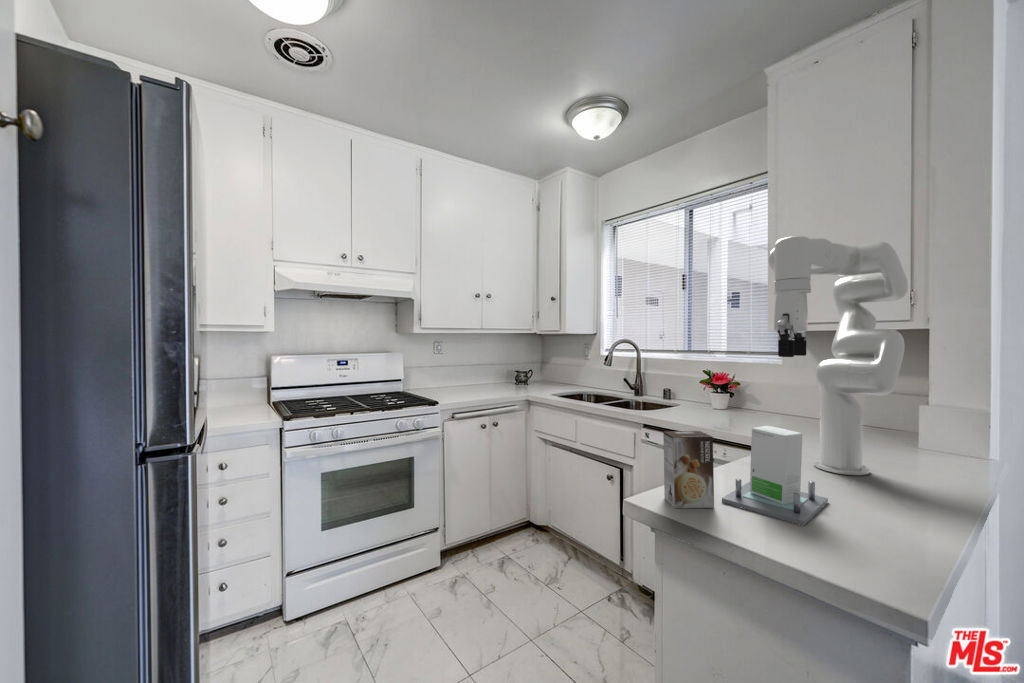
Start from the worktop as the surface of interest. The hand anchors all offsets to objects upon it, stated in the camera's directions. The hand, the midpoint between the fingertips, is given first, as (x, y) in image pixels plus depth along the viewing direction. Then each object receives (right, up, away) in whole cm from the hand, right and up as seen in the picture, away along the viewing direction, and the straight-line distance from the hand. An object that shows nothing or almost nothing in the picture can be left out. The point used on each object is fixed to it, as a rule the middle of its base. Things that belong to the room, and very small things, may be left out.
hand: (792, 356), depth 104 cm
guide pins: (-10, -33, -8) cm, 36 cm away
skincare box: (-9, -32, -8) cm, 35 cm away
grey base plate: (-10, -33, -8) cm, 36 cm away
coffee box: (-29, -34, -8) cm, 46 cm away
